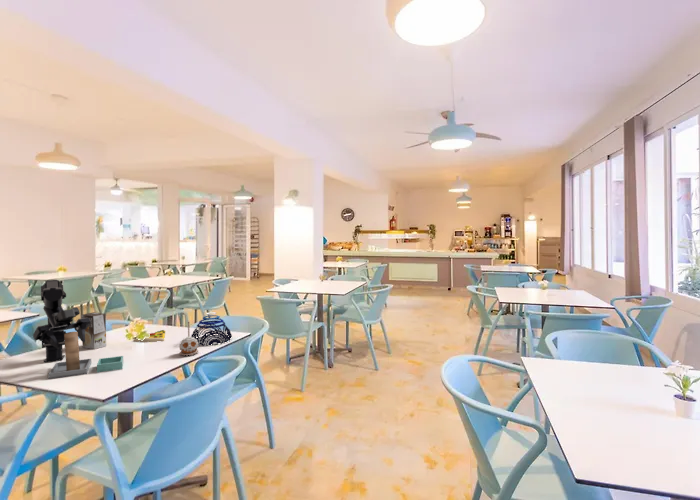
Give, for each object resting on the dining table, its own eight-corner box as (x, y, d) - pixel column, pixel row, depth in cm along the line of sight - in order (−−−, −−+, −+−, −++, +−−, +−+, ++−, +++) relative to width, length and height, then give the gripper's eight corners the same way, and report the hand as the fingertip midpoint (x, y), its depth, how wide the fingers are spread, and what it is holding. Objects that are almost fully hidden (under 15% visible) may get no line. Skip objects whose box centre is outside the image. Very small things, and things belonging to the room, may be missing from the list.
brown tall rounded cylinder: (69, 369, 154) (66, 332, 153) (81, 367, 155) (79, 331, 154) (64, 372, 150) (62, 335, 149) (77, 371, 151) (75, 333, 150)
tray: (56, 367, 157) (56, 362, 157) (91, 363, 163) (91, 358, 163) (48, 379, 145) (48, 373, 145) (86, 373, 150) (86, 368, 150)
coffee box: (107, 345, 188) (106, 313, 187) (94, 349, 182) (93, 316, 181) (94, 343, 191) (93, 312, 191) (81, 347, 185) (80, 314, 185)
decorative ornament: (180, 357, 171) (179, 324, 170) (179, 352, 177) (178, 320, 177) (199, 355, 174) (198, 322, 174) (197, 350, 181) (196, 319, 180)
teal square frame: (99, 365, 159) (99, 358, 159) (123, 362, 163) (123, 355, 163) (97, 372, 152) (96, 365, 152) (122, 369, 156) (121, 361, 156)
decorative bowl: (193, 348, 185) (192, 319, 184) (188, 338, 202) (187, 311, 202) (235, 342, 194) (235, 314, 194) (227, 333, 212) (226, 308, 211)
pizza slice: (131, 343, 194) (131, 337, 194) (151, 333, 215) (151, 327, 215) (162, 343, 195) (162, 337, 195) (179, 332, 216) (179, 327, 215)
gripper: (36, 305, 146) (52, 338, 141) (88, 298, 162) (104, 327, 158) (26, 323, 150) (41, 356, 145) (78, 314, 166) (93, 343, 162)
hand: (71, 344), depth 152 cm, fingers open, 9 cm apart
